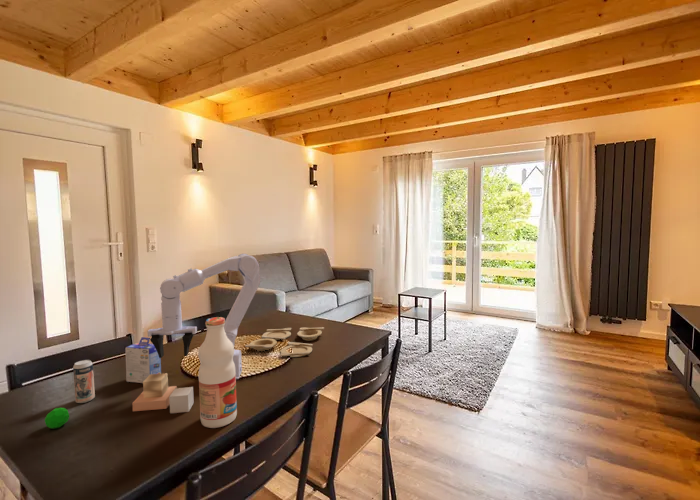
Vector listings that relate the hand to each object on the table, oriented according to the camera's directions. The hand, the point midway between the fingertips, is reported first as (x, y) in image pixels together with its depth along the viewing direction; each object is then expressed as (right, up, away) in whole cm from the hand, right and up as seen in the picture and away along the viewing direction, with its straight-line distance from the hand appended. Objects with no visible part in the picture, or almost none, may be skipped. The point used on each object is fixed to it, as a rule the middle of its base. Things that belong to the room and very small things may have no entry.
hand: (173, 355), depth 112 cm
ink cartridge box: (-13, -10, +6) cm, 18 cm away
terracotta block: (-1, -12, -9) cm, 15 cm away
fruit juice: (+22, -12, -19) cm, 31 cm away
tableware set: (+30, -8, +41) cm, 51 cm away
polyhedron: (-20, -12, -22) cm, 32 cm away
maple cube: (-1, -9, -9) cm, 13 cm away
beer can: (-23, -11, -8) cm, 27 cm away
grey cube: (+9, -11, -13) cm, 19 cm away
